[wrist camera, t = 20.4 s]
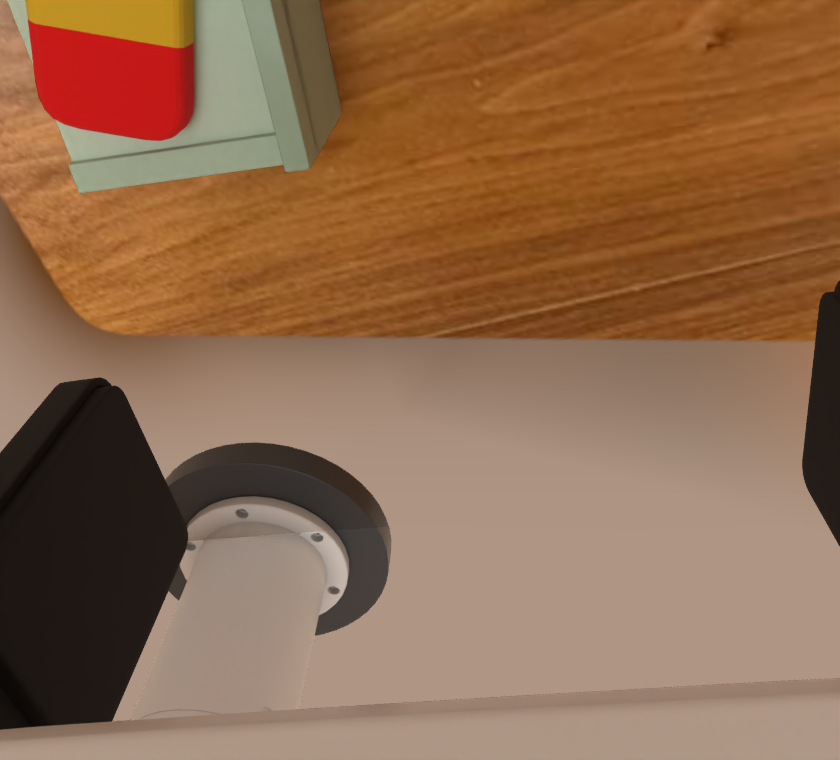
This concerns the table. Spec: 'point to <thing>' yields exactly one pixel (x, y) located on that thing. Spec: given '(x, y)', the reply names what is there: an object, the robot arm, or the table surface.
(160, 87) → the popsicle
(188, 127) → the shelf
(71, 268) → the table surface
